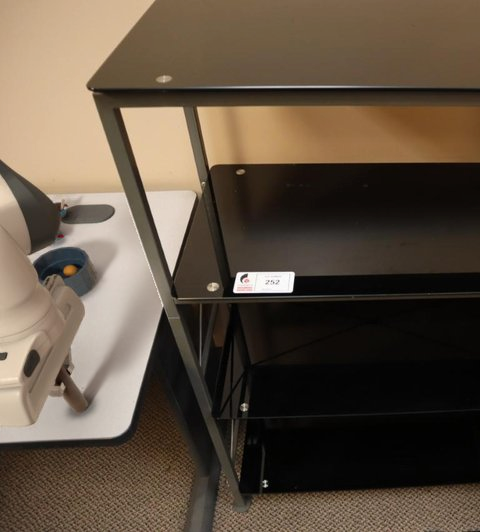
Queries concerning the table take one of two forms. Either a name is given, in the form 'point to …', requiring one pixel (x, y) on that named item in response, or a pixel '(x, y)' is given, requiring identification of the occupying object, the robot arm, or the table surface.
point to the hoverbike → (63, 212)
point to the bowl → (63, 257)
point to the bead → (70, 270)
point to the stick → (71, 392)
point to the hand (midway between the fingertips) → (63, 382)
